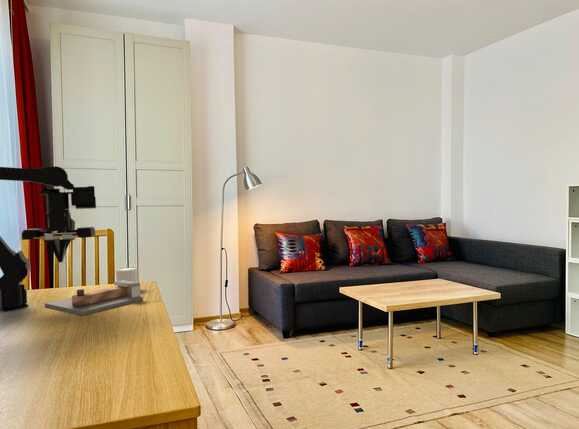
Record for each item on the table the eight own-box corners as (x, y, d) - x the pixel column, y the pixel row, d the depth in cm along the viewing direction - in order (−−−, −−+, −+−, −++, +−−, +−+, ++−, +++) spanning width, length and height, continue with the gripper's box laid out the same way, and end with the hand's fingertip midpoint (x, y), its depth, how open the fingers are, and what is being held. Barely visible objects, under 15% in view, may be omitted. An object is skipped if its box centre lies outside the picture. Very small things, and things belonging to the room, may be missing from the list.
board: (82, 315, 116) (82, 311, 116) (44, 306, 126) (44, 303, 126) (142, 300, 132) (142, 296, 132) (104, 293, 142) (104, 290, 142)
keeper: (132, 298, 130) (131, 284, 130) (114, 295, 134) (113, 281, 134) (140, 296, 132) (139, 282, 132) (122, 293, 137) (122, 280, 137)
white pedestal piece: (115, 288, 149) (114, 268, 149) (137, 286, 152) (136, 266, 152) (117, 292, 143) (116, 271, 143) (139, 290, 146) (138, 269, 146)
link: (78, 307, 119) (77, 292, 119) (68, 305, 122) (68, 290, 121) (132, 294, 134) (132, 280, 134) (123, 292, 137) (122, 279, 136)
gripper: (98, 208, 140) (100, 257, 140) (34, 209, 136) (36, 260, 137) (89, 208, 129) (91, 262, 130) (19, 210, 125) (22, 265, 126)
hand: (60, 262), depth 131 cm, fingers closed
